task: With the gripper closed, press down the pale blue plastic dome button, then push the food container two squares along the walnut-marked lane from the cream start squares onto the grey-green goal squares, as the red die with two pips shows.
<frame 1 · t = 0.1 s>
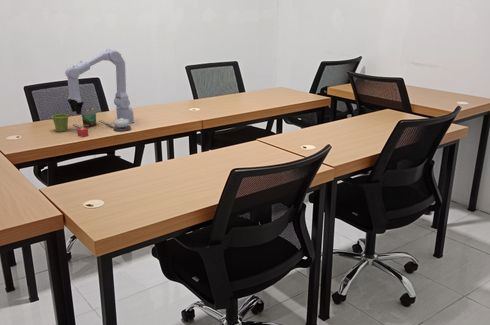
hand: (76, 112, 282), 10 cm above the table, tool pointing down, fingers open, 7 cm apart
food container: (92, 125, 295), on the table
dome housing: (122, 129, 287), on the table
red die: (83, 135, 274), on the table
dome: (121, 121, 286), point 5 cm above the table, slide at 0.0 cm
game lane: (94, 127, 291), on the table
plant pot: (61, 130, 284), on the table
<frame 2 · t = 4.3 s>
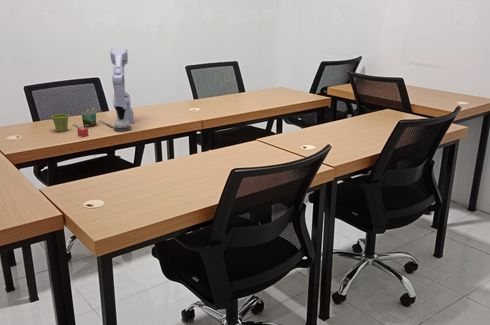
hand: (121, 119, 285), 6 cm above the table, tool pointing down, fingers closed, pressing on dome
dome: (121, 122, 286), point 4 cm above the table, slide at 0.5 cm, touching gripper
everything else where it was.
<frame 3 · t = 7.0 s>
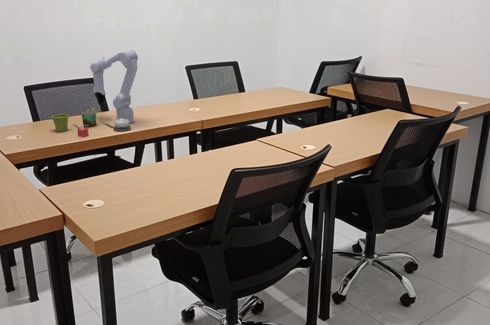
hand: (100, 104, 306), 9 cm above the table, tool pointing down, fingers closed
dome: (121, 122, 286), point 4 cm above the table, slide at 0.2 cm
everything else where it was.
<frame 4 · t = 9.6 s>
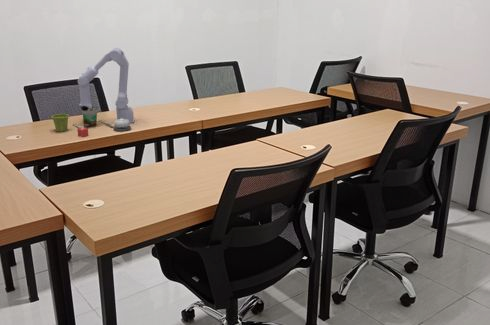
hand: (87, 118, 299), 3 cm above the table, tool pointing down, fingers closed
food container: (92, 125, 294), on the table, touching gripper
everything else where it was.
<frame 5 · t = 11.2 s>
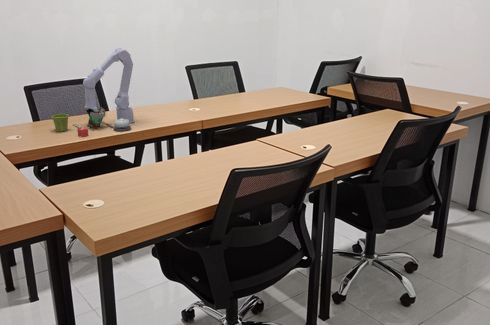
hand: (92, 121, 292), 3 cm above the table, tool pointing down, fingers closed, pressing on food container
food container: (95, 126, 291), point 1 cm above the table, touching gripper
everything else where it was.
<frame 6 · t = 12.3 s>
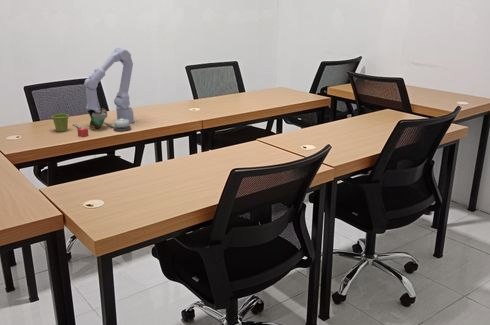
hand: (94, 122, 290), 3 cm above the table, tool pointing down, fingers closed, pressing on food container
food container: (97, 127, 289), point 1 cm above the table, touching gripper
everything else where it was.
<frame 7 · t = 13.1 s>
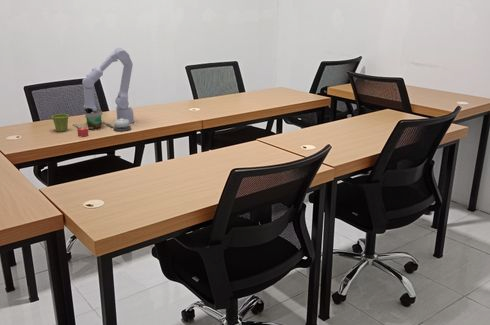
hand: (91, 120, 294), 3 cm above the table, tool pointing down, fingers closed
food container: (97, 128, 289), on the table, touching gripper
everything else where it was.
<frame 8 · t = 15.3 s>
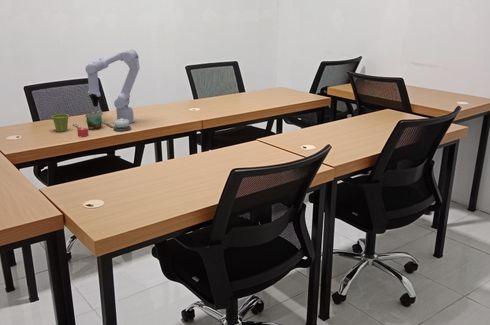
hand: (95, 106, 301), 9 cm above the table, tool pointing down, fingers closed
food container: (97, 128, 289), on the table
everything else where it was.
at the end: food container inside the target area (2.5 cm from its centre), on the table; food container tilted 0°; food container moved 7.5 cm from its start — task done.
